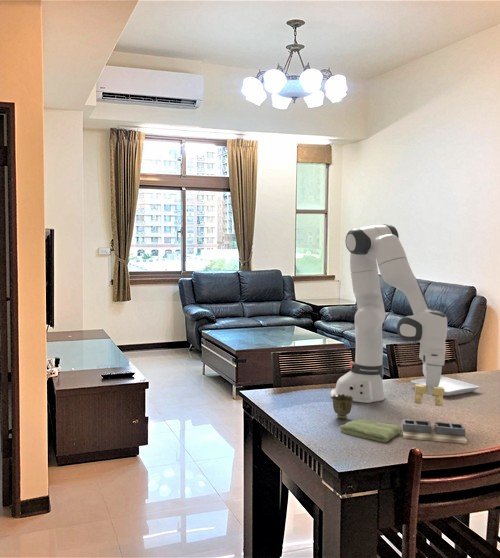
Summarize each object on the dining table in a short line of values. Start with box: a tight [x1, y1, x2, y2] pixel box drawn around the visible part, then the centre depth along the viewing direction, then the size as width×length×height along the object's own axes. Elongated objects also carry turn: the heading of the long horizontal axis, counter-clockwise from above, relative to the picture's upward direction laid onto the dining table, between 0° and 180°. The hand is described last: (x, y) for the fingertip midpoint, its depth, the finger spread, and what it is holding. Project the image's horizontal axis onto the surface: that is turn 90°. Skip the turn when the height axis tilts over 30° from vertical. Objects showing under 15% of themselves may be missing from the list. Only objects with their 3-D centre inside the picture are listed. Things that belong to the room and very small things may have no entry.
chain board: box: [400, 422, 468, 445], centre depth 192 cm, size 20×13×1 cm, turn 78°
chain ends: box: [401, 418, 466, 438], centre depth 192 cm, size 20×5×2 cm, turn 78°
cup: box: [331, 394, 354, 420], centre depth 207 cm, size 8×7×8 cm
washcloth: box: [339, 418, 402, 443], centre depth 193 cm, size 13×18×3 cm
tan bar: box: [414, 384, 445, 407], centre depth 205 cm, size 10×3×6 cm, turn 79°
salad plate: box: [410, 375, 480, 397], centre depth 250 cm, size 21×21×3 cm
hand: (429, 392), depth 205 cm, fingers closed on tan bar, 3 cm apart
